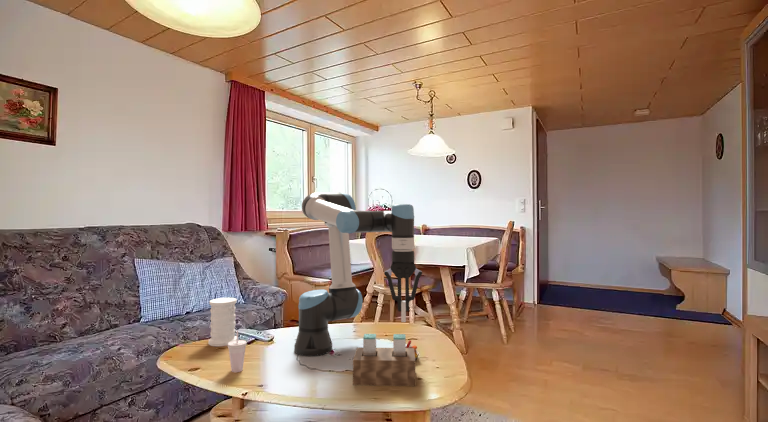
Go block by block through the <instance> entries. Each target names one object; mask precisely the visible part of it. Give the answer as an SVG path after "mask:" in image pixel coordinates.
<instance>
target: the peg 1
mask: <svg viewBox="0 0 768 422" xmlns="http://www.w3.org/2000/svg"><path fill="white" fill-rule="evenodd" d="M362 338H363V340H362V341H363V343H362V345H363V347H362V348H363V356H376V348H377V334H376V333H364V334H363V337H362Z"/></svg>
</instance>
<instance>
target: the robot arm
mask: <svg viewBox="0 0 768 422" xmlns="http://www.w3.org/2000/svg"><path fill="white" fill-rule="evenodd" d="M301 211H302V213H303V214H304V216H305V217H307V218H308V219H310V220H312V221H313V220H314V221H319V220H320V221H323V222H324V225H325V226H326V227H327V228H328V242H329V255H330V256H329V258H330V259H329V260H330V273H331V284H330V286H328V290H327V289H323V288H322V289H312V290H308V291H305V292H303V293H302V294H300V295H299V298H298V305H297V308H298V333H297V336H296V340H295V343H294V346H293V347H294V350H293V352H294V353H295V354H297V355H299V356H306V357H313V356H314V357H315V356H316V357H317V356H321V355H325V354H328V353H330V352H331V351H332V350H333V342H332V338H331V334H330V332H329V322H334V321H338V320H339V321H340V320H345V319H346V320H349V319H351V318H355V317H357V316H359V314H360V312H361V311H362V309H363V295H362V292H361V291H360V290H359V289H358V288H357V285H356V284H355V283H354V282H353V276H352V263H351V251H350V250H351V248H350V234H358V233H359V234H360V233H391V249H392V251H391V266H390V268H389V269H387V270H385V271H384V273H383V274H384V276H385V277H386V279H387V283H388V288H389V290H390V294H391V299H392V300H393V301H396V302H397V311H398V312H400V317H401V318H400V319H401V323H406V322H407V312H409V311H410V302H411V301H414V300H415V298H416V294H417V290H418V286H419V282H420V278H421V277H422V275H423V271H422V270H420V269H418V268H417V266H416V264H415V251H414V249H415V211H414V206H413V205H412V204H407V203H406V204H405V203H401V204H399V203H398V204H392V206H391V210H357V207H356V202H355V200H354V198H353V197H352V196H351V195H350V194H349V193H345V192H344V193H343V192H323V191H322V192H321V191H316V192H312V193H310V194H307V196H305V197H304V199H303V200H302V202H301ZM393 274H394V275H395V276H394V277H396V279H397V295H396V291H395V287H394V283H393V279H392V275H393ZM413 274H414V276H415V277H414V281H413V285H412V289H411V294H410V278H411V277H412V276H413ZM402 279H404V282H405V285H404V286H405V296H404V297H405V298H404V299H405V300H402Z"/></svg>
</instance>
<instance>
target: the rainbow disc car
mask: <svg viewBox="0 0 768 422" xmlns="http://www.w3.org/2000/svg"><path fill="white" fill-rule="evenodd" d="M411 344H412V340H408V342H407V344H406V348H414V353H415V359H417V358H418V356H419V355H418V353H417V349H418V347H417V345H413V346H412V345H411Z"/></svg>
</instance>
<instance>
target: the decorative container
mask: <svg viewBox="0 0 768 422" xmlns="http://www.w3.org/2000/svg"><path fill="white" fill-rule="evenodd" d="M236 304H237V298H235V297H219V298H213V299H211V300H209V305H210V307H211V308H210V310H209V311H210V313H211V314H210V317H209V318H210V321H211V322H210V325H209V326H210V334H209V335H210V339H208V346H210V347H226V346H228V343H229V342H231V341H235V340H237V335H236V333H237V330H236V316H237V315H236V310H237V308H236Z"/></svg>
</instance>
